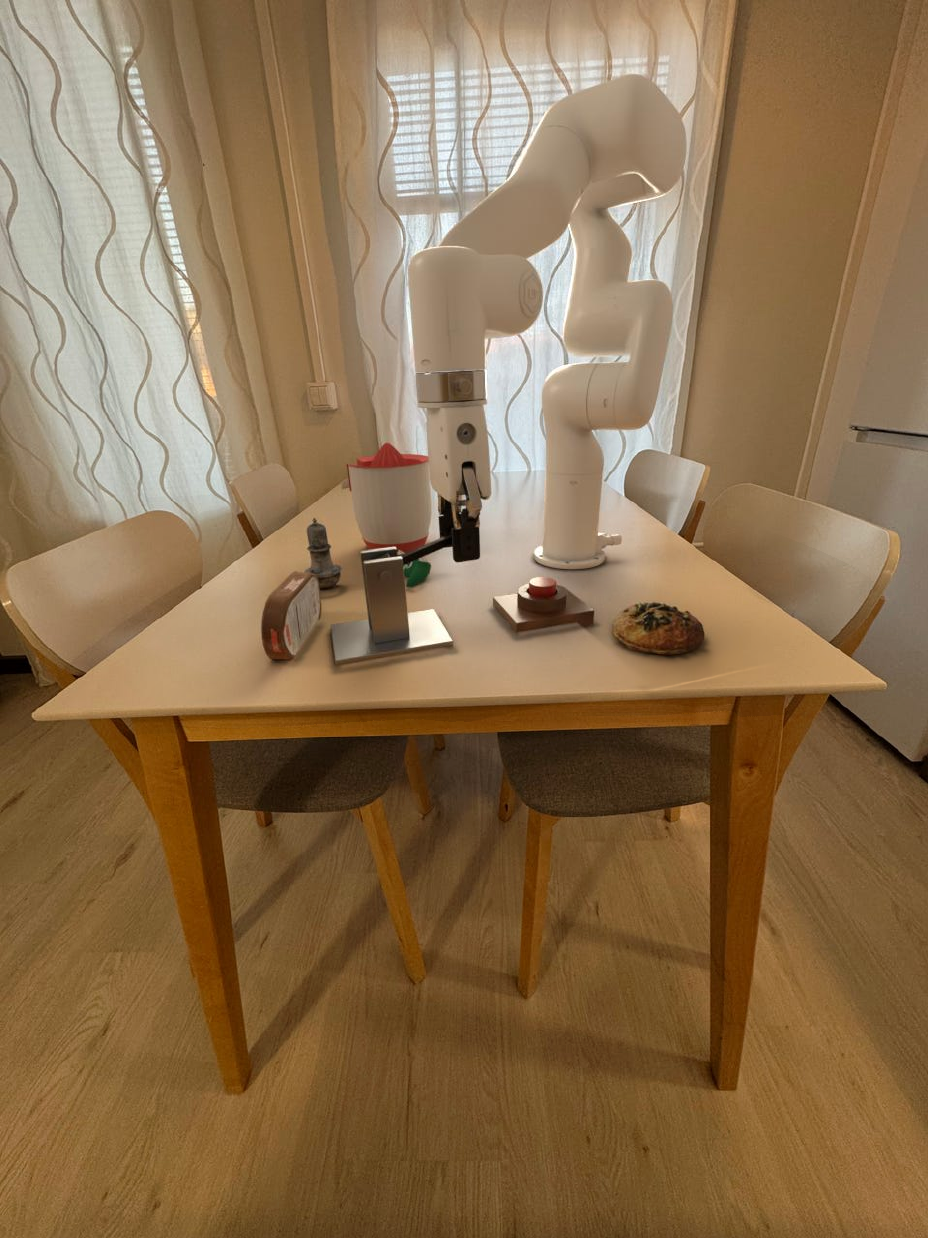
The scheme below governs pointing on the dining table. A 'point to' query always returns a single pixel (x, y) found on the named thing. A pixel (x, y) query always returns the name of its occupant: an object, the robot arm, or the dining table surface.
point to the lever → (425, 548)
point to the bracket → (386, 616)
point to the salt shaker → (321, 557)
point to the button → (542, 587)
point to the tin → (290, 615)
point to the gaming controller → (416, 570)
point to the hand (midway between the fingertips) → (459, 551)
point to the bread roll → (658, 629)
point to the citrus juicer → (391, 498)
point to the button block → (542, 609)
